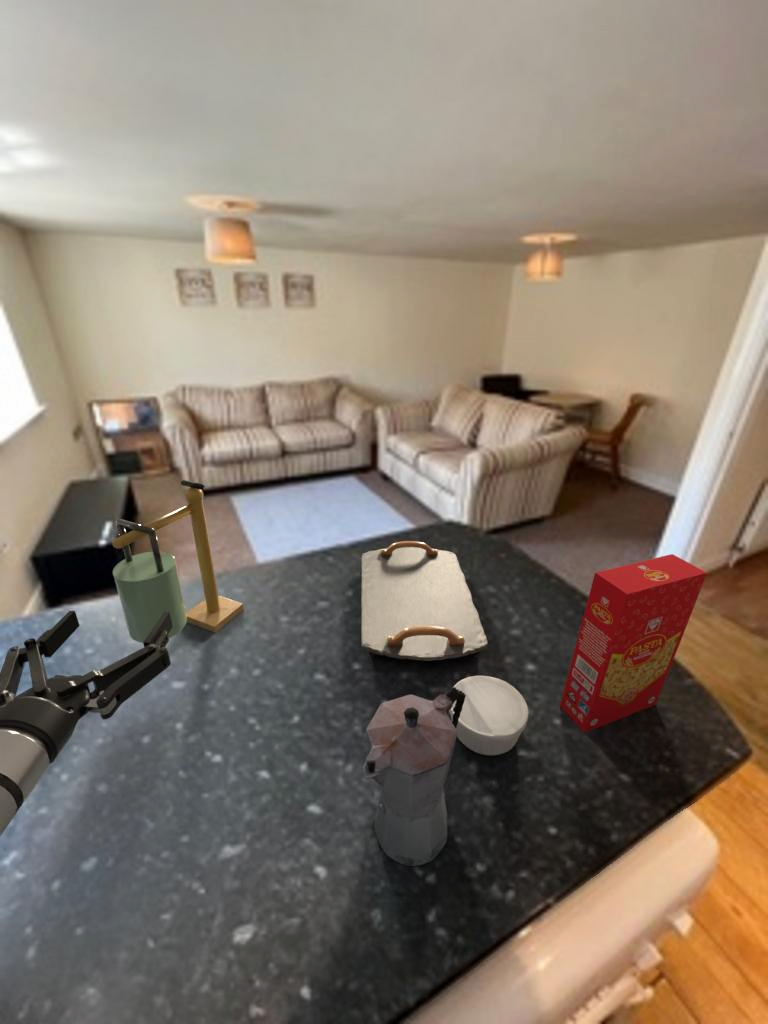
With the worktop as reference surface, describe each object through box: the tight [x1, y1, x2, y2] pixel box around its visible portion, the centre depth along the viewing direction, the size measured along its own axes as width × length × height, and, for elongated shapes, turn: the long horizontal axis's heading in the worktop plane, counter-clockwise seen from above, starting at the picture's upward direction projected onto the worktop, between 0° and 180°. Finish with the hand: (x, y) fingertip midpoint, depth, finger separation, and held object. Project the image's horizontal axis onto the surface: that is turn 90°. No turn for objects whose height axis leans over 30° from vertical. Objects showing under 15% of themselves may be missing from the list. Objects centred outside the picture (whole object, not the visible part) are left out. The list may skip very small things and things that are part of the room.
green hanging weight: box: [112, 518, 188, 644], centre depth 73 cm, size 9×9×20 cm
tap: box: [111, 479, 245, 634], centre depth 78 cm, size 8×20×28 cm, turn 156°
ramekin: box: [448, 675, 529, 756], centre depth 66 cm, size 11×11×5 cm
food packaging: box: [559, 553, 708, 733], centre depth 66 cm, size 15×5×25 cm, turn 112°
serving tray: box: [360, 540, 489, 662], centre depth 93 cm, size 39×23×6 cm, turn 2°
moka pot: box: [362, 686, 466, 867], centre depth 50 cm, size 10×15×20 cm, turn 137°
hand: (121, 618), depth 66 cm, fingers open, 13 cm apart
